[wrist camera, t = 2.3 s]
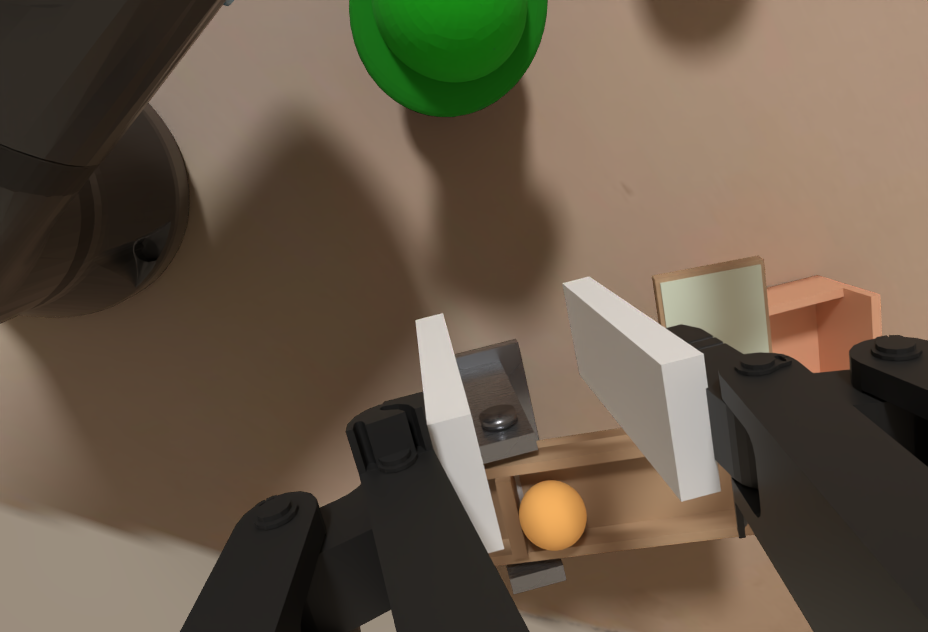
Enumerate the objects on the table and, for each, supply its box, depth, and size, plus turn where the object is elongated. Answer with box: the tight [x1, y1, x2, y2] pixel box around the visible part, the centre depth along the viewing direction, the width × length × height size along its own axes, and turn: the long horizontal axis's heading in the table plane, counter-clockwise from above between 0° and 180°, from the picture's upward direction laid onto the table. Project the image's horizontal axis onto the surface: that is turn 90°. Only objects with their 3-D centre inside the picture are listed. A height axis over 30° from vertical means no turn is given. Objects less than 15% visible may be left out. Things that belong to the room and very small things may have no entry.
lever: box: [483, 256, 773, 566], centre depth 35 cm, size 22×14×8 cm, turn 103°
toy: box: [349, 0, 548, 117], centre depth 30 cm, size 9×9×15 cm
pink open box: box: [767, 275, 882, 373], centre depth 42 cm, size 10×9×6 cm
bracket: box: [455, 339, 566, 594], centre depth 39 cm, size 6×11×12 cm, turn 13°
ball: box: [519, 480, 587, 551], centre depth 33 cm, size 4×4×4 cm
